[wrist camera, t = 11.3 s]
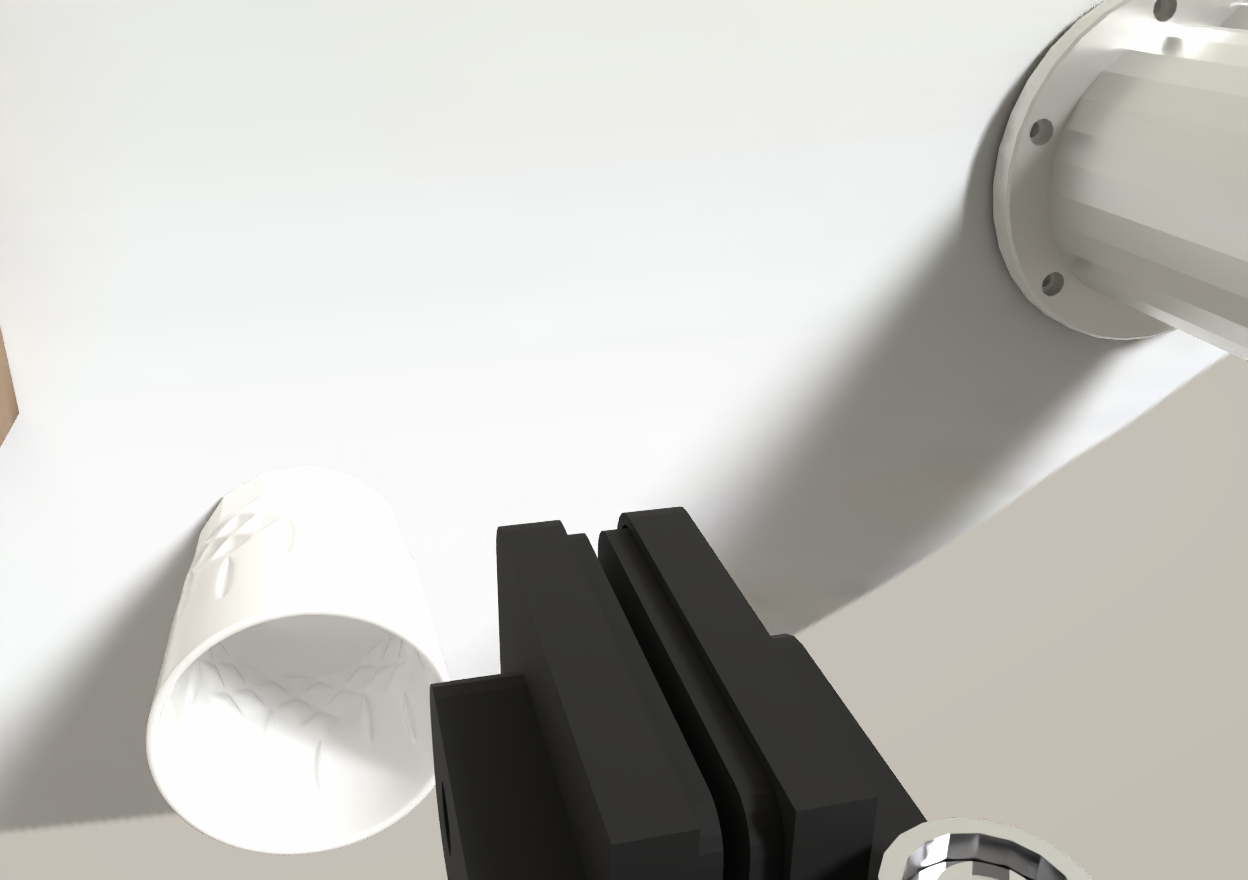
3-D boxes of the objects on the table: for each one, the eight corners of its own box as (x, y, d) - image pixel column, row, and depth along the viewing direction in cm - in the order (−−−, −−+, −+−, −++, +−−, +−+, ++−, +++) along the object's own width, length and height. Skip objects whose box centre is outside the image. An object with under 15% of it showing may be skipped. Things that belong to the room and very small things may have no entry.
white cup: (125, 562, 38) (75, 759, 29) (299, 400, 37) (301, 550, 28) (307, 691, 41) (312, 900, 32) (468, 545, 41) (517, 718, 32)
